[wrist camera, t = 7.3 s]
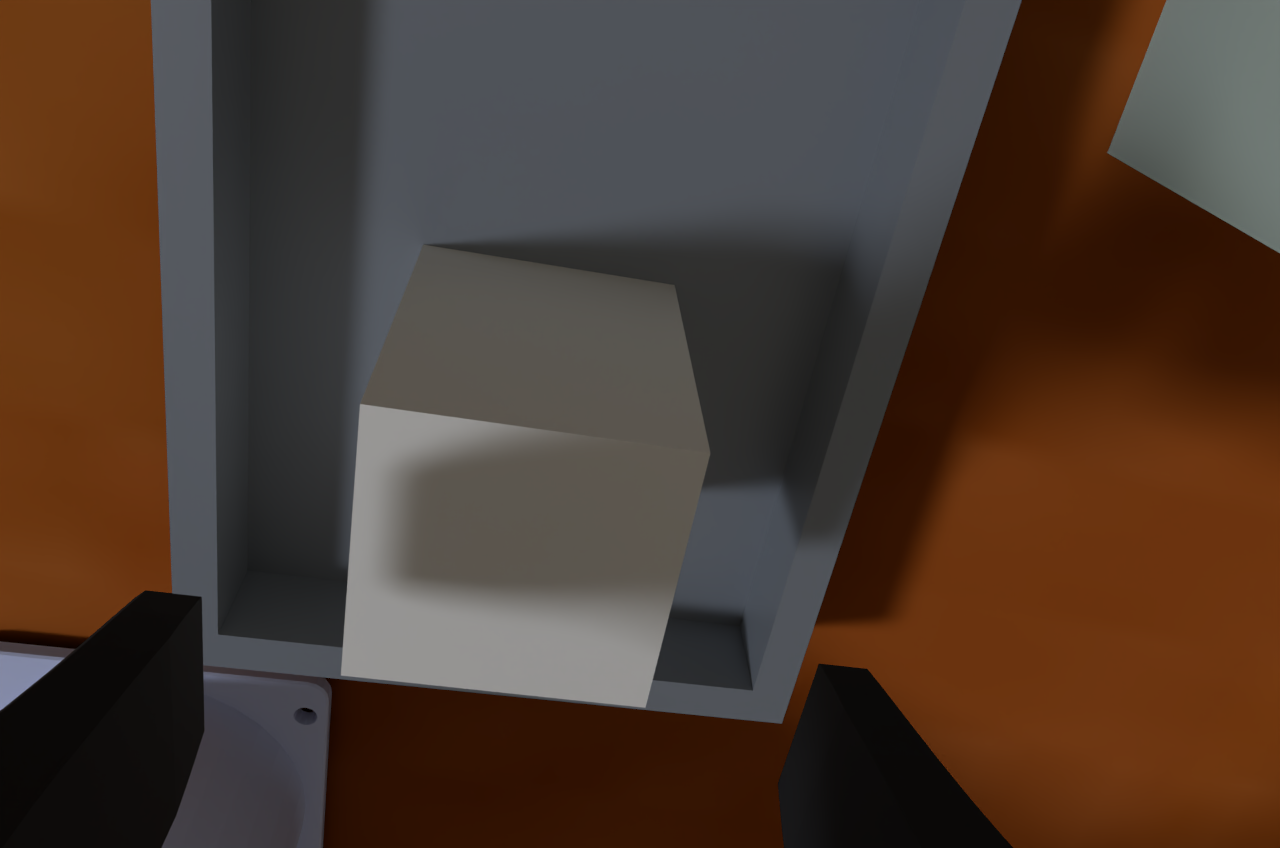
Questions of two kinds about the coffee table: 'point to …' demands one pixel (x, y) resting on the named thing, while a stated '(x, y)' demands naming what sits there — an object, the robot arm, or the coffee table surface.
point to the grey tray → (554, 235)
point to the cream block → (523, 482)
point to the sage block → (1211, 111)
